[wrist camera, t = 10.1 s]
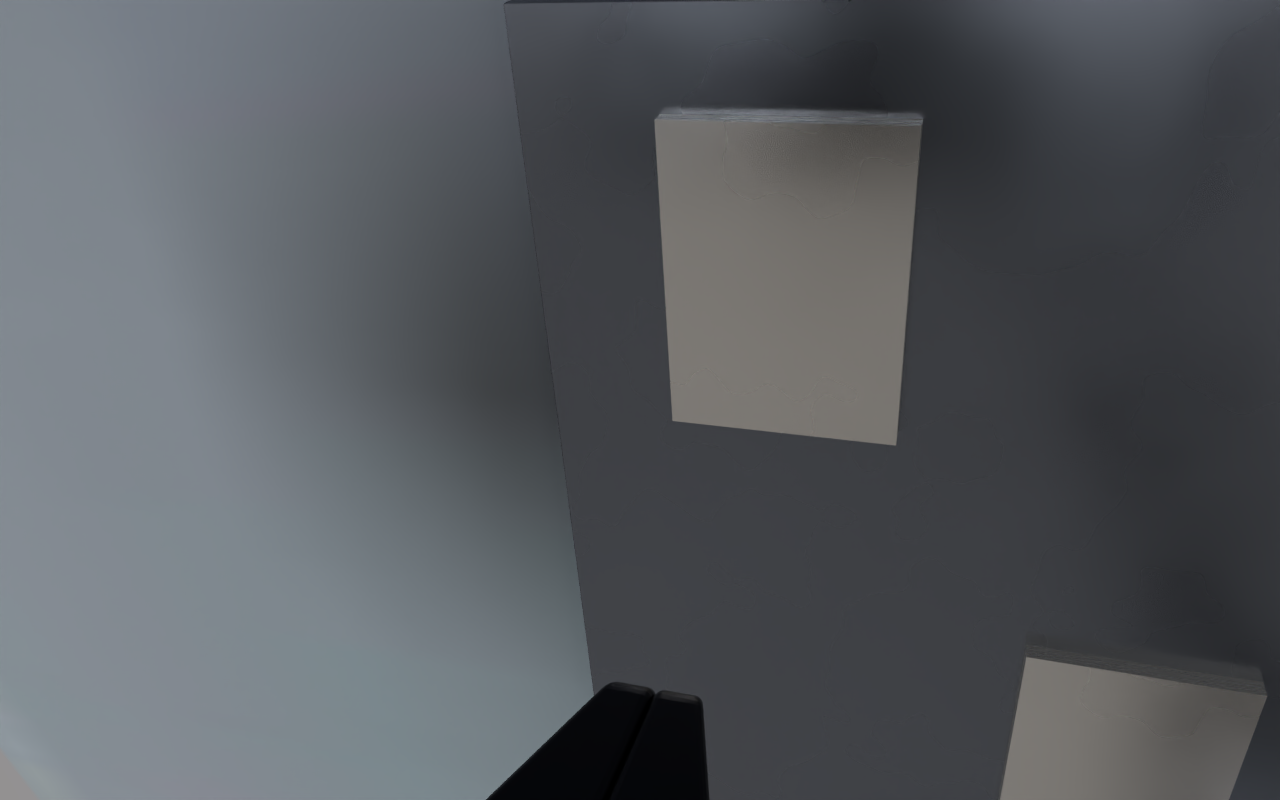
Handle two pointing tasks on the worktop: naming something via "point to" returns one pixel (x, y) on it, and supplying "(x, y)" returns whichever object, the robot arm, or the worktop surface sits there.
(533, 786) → the robot arm
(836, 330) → the board
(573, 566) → the worktop surface
